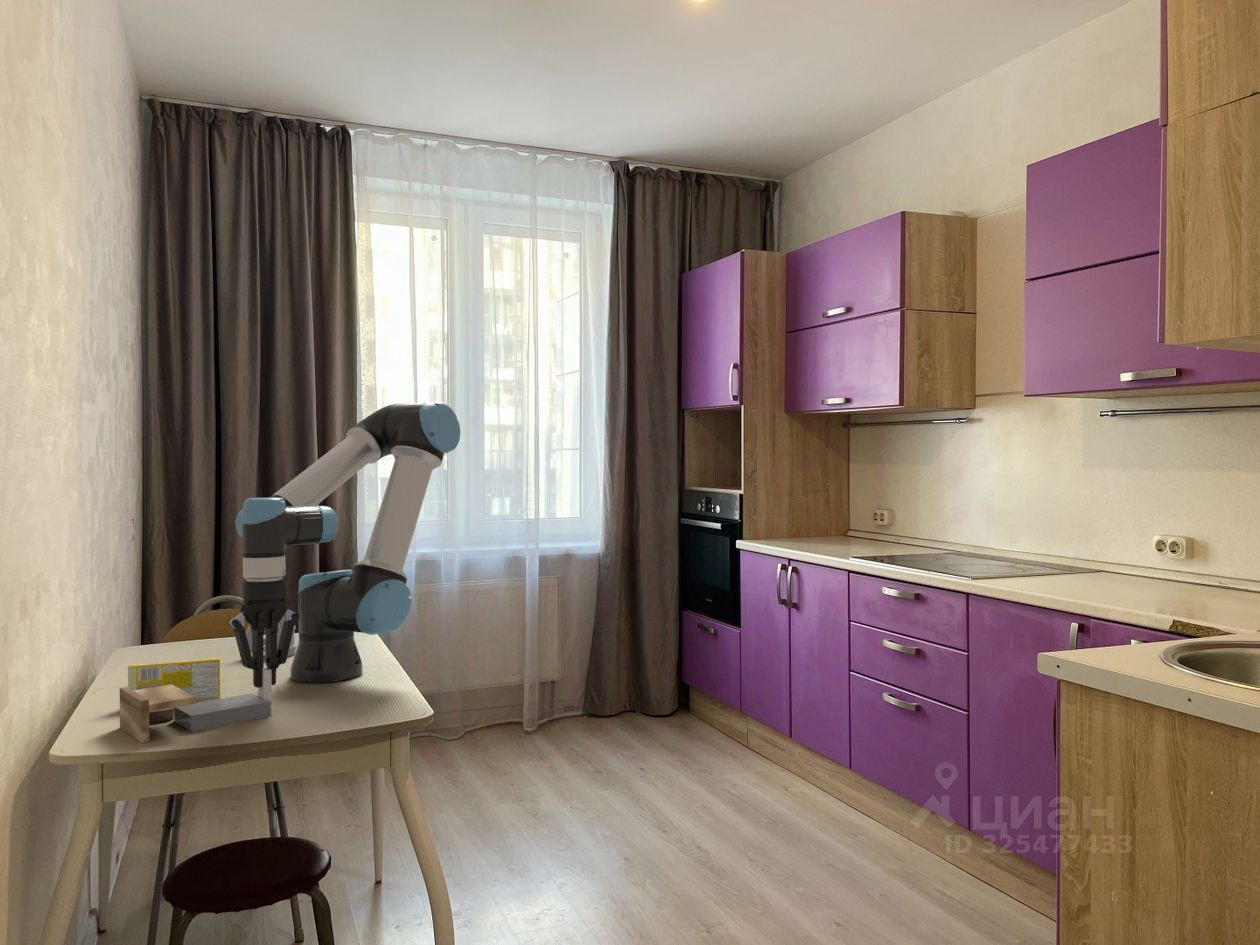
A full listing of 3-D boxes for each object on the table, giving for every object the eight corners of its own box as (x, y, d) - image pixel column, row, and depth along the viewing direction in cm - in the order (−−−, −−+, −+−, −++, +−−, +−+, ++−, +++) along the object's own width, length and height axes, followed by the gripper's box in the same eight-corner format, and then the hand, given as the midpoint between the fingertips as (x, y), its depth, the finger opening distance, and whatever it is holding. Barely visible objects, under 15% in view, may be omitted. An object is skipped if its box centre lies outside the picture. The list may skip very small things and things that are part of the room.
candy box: (220, 698, 181) (220, 657, 181) (220, 701, 179) (219, 659, 179) (129, 706, 175) (129, 663, 175) (127, 709, 173) (127, 666, 173)
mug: (299, 655, 223) (298, 607, 223) (247, 661, 217) (247, 611, 217) (293, 650, 229) (293, 603, 229) (243, 655, 223) (243, 607, 223)
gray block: (252, 708, 174) (252, 693, 174) (270, 717, 167) (270, 701, 167) (174, 723, 164) (174, 706, 164) (190, 733, 157) (190, 715, 157)
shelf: (172, 718, 166) (171, 680, 166) (195, 732, 156) (195, 692, 156) (119, 727, 160) (119, 688, 160) (141, 743, 151) (141, 701, 151)
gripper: (289, 574, 178) (290, 694, 178) (221, 580, 169) (222, 706, 169) (306, 577, 173) (306, 700, 173) (236, 583, 164) (237, 713, 164)
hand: (264, 703), depth 171 cm, fingers closed
